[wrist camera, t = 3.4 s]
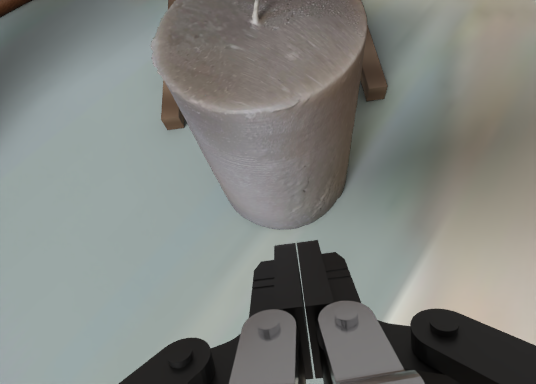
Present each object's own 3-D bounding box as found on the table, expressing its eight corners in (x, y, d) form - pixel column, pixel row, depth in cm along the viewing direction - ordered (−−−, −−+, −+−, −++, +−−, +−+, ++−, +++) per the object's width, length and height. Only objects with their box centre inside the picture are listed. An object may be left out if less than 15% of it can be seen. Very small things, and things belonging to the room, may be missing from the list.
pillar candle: (313, 109, 30) (311, -96, 17) (368, 203, 26) (425, 26, 12) (208, 150, 29) (118, -27, 16) (245, 253, 25) (164, 126, 12)
